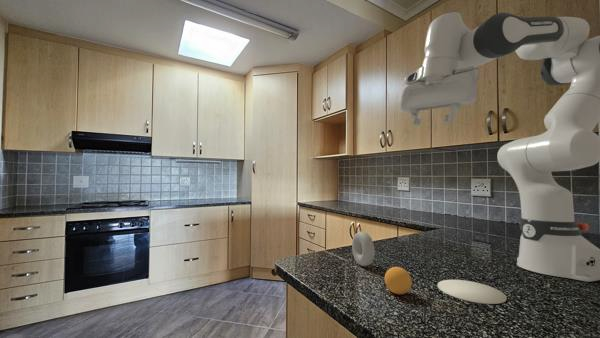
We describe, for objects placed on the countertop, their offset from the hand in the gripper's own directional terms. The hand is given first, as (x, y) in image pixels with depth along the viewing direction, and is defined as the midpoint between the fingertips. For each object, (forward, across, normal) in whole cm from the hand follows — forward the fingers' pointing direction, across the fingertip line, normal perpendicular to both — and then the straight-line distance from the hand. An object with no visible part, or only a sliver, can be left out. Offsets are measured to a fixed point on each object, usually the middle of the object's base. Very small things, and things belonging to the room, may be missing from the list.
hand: (431, 123), depth 72 cm
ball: (+39, -8, +17) cm, 43 cm away
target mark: (+40, -15, +1) cm, 42 cm away
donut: (+44, +10, +8) cm, 45 cm away
